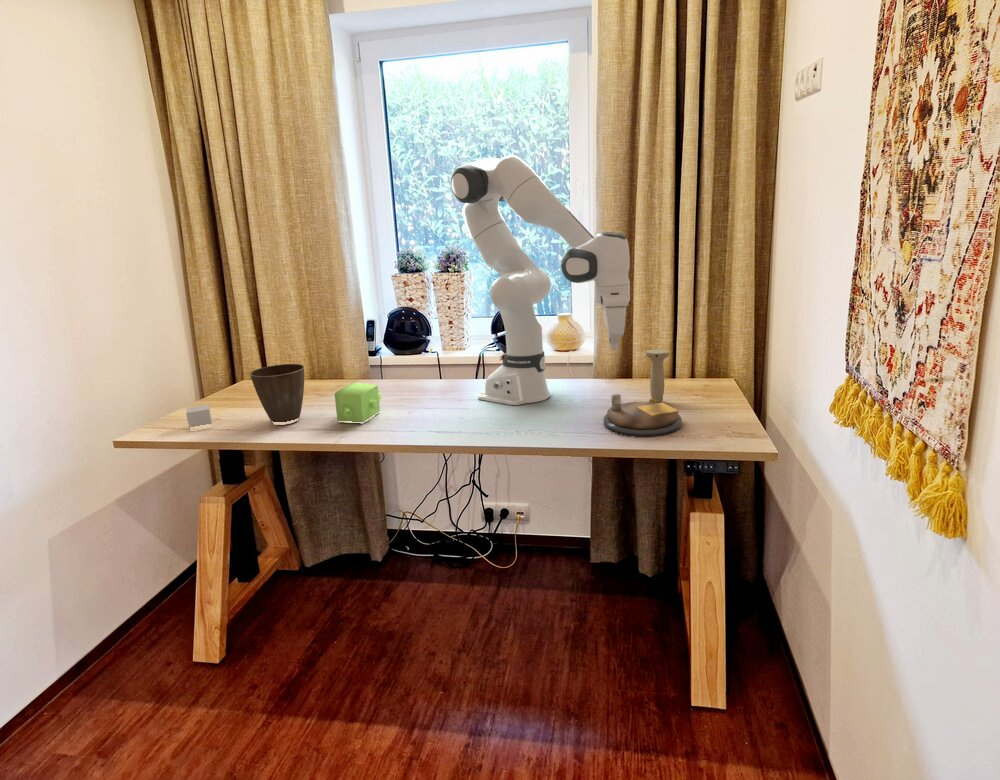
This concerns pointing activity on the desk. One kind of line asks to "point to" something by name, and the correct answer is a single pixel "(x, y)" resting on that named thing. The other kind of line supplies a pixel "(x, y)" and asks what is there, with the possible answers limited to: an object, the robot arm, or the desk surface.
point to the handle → (657, 373)
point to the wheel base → (643, 432)
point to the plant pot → (280, 390)
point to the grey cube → (199, 415)
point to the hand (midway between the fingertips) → (613, 346)
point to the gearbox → (357, 402)
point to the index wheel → (641, 414)
